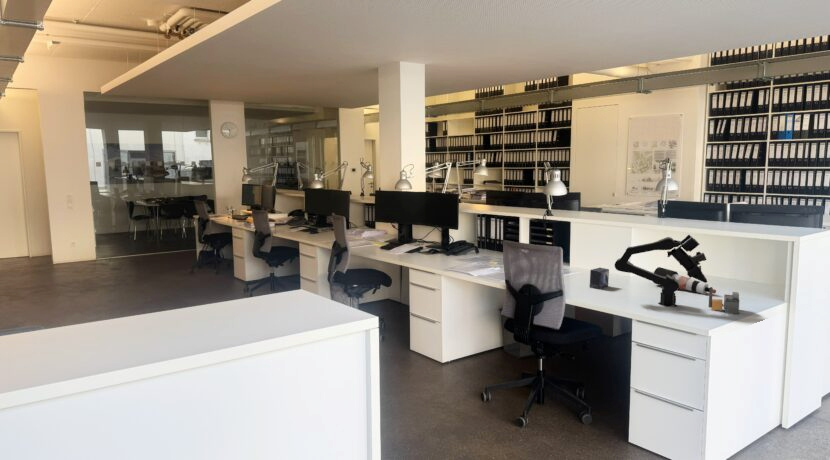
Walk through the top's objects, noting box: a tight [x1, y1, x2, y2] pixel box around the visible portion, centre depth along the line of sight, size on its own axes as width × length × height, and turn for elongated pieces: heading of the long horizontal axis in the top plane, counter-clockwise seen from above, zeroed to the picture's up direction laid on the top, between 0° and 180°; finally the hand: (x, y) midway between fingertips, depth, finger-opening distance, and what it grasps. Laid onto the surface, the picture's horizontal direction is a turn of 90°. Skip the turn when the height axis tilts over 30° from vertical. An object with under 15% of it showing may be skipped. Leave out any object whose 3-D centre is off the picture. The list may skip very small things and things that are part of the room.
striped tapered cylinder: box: [653, 266, 717, 295], centre depth 315 cm, size 10×34×10 cm, turn 36°
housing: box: [723, 291, 740, 315], centre depth 271 cm, size 6×10×9 cm, turn 154°
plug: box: [708, 287, 724, 311], centre depth 274 cm, size 6×4×11 cm
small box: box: [589, 267, 610, 290], centre depth 325 cm, size 11×6×10 cm, turn 131°
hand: (706, 281), depth 275 cm, fingers open, 3 cm apart
